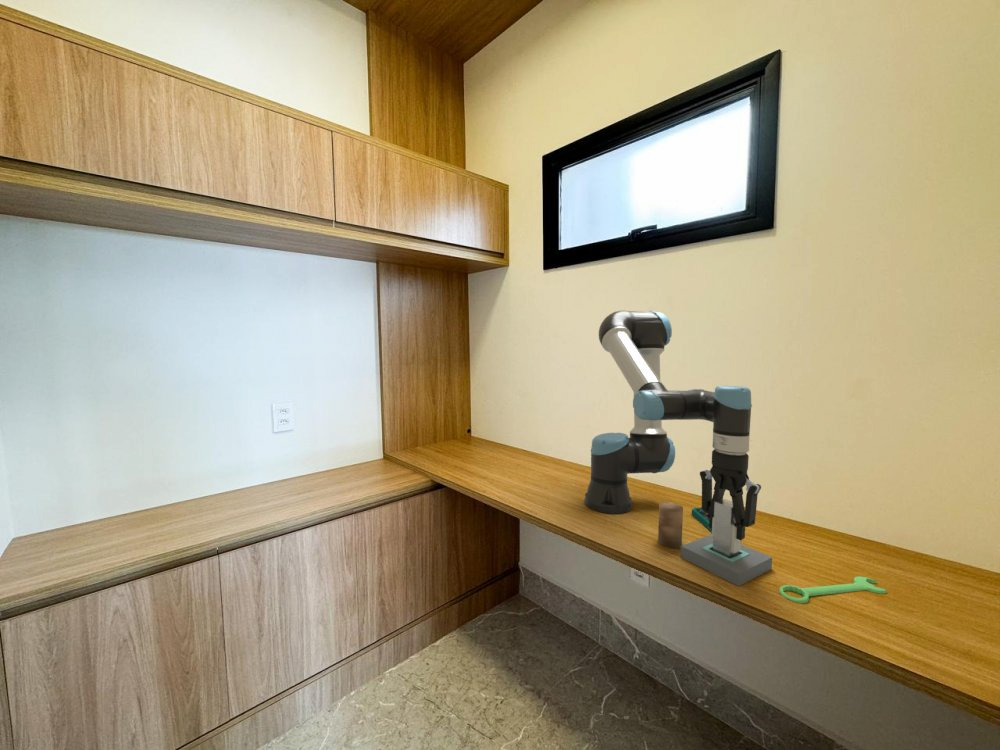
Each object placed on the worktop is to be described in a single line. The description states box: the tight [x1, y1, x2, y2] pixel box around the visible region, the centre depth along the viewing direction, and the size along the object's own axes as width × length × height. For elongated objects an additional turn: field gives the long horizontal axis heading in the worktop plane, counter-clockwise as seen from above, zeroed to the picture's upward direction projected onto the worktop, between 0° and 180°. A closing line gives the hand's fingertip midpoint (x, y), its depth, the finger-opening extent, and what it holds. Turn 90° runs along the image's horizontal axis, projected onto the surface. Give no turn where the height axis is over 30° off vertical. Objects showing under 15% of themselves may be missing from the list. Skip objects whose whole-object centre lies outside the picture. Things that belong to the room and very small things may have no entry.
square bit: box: [713, 498, 739, 559], centre depth 95 cm, size 4×4×13 cm
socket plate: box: [680, 533, 773, 587], centre depth 95 cm, size 14×14×3 cm
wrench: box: [778, 576, 888, 604], centre depth 85 cm, size 25×2×5 cm
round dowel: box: [657, 501, 684, 549], centre depth 105 cm, size 6×6×10 cm
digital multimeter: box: [691, 506, 712, 533], centre depth 117 cm, size 7×15×3 cm, turn 179°
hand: (725, 546), depth 95 cm, fingers closed on square bit, 4 cm apart
